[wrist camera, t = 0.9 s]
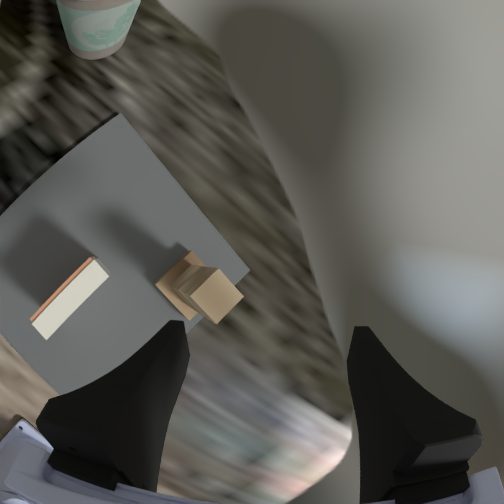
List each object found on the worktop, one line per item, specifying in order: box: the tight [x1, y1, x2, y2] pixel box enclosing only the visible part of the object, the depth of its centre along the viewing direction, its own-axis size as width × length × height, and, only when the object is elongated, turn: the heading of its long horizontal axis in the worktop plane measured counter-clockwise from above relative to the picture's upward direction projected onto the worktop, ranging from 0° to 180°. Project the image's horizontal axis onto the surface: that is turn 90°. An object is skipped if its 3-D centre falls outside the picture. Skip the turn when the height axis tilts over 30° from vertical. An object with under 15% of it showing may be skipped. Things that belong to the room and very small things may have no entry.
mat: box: [0, 113, 250, 395], centre depth 24 cm, size 20×18×1 cm
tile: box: [30, 256, 110, 340], centre depth 20 cm, size 6×2×6 cm, turn 132°
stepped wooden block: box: [154, 250, 243, 324], centre depth 23 cm, size 4×4×8 cm
